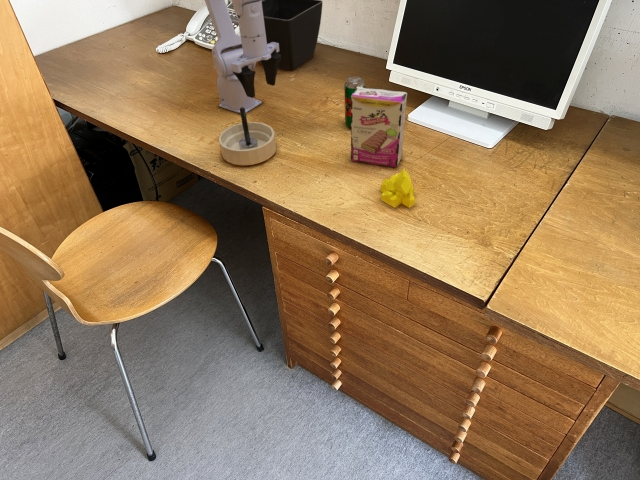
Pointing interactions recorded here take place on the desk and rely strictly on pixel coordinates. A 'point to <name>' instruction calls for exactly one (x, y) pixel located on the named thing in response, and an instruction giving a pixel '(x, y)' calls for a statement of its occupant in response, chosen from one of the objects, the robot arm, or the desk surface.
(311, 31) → the flower pot
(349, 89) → the soda can
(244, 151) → the bowl
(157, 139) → the desk surface
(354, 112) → the candy bar box
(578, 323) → the desk surface
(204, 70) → the desk surface
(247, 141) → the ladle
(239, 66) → the robot arm
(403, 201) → the yellow faceted lump
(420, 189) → the desk surface
